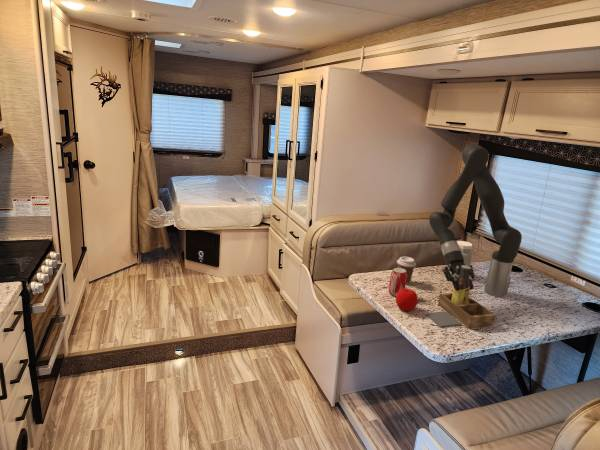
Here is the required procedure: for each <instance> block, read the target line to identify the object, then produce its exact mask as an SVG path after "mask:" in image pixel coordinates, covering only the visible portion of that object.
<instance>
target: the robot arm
mask: <svg viewBox="0 0 600 450" xmlns="http://www.w3.org/2000/svg"><path fill="white" fill-rule="evenodd" d="M461 159H462V162H463V163H464V167H463V169H462V172H461V173H460V174H459V176H458V177H457V179H456V180H455V181H454V182H453V183H452V184H451V185H450V186H449V188H448V189H447V191H446V193H445V195H444V196H443V198H442V199H441V203H440V205H441V207H442V208H443V211H442V212H439V211H434V212H432V213H431V214H430V215H429V219H428V221H429V224H430V225H429V226H430V227H431V229H432V231H433V233H434V234H435V236H437V238H438V241H439V245H440V248H441V249H440V250H441V254H442V255H443V258H444V262H445V265H446V266H444V267H442V272H443V274H444V277H445V279H446V281H447V282H451V283H452V285H453V290H454V289H455V290H456V291H458V290H460V286H459V284H458V281H457V276H458V275H460V271H461V266H462V265H465V264H464V258H463V255H462V252H461V250H460V247H459V245H458V243H457V241H458V240H457V238H456V234H455V233H454V231H453V230H451V229H449V228H450V227H451V226H452V224H453V223H454V219H455V215H456V213H457V212H456V210H457V208H458V207H459V205H460V203H461V201H462V200H463V197H464V195H465V194H466V193H467V191H468V189H469V188H470V186H471V184H472V183H473V185H474V188H475V191H476V193H477V196H478V199H479V202H480V204H481V206H482V208H483V210H484V212H485V215H486V218H487V220H488V222H489V226H490V228H491V233H492V237H493V238H494V240H495V241H496V242H497V243H498V244H499V249H498V250H495V251H493V252H492V254H491V259H490V261H489V262H490V263H489V266H488V267H489V268H488V271H487V275H486V276H487V277H486V281H485V283H484V289H483V290H484V293H486V294H488V295H489V296H493V297H495V298H496V297H498V298H505V296H507V295H508V291H509V288H510V284H511V279H512V276H511V272H512V269H513V264H514V260H515V259H516V257H517V256H518V253H519V250H520V247H521V243H522V237H523V235H522V233H521V231H519V230H518V229H517V228H515V227H513V226H511V225H510V224H509V223H508V220H507V218H506V216H505V212H504V211H505V198H504V196H503V192H502V190H501V189H500V186H499V184H498V183H497V181H496V180H495V178H494V176H493V175H492V174H491V173H490V171H489V168H488V166H487V163H488V162H489V159H490V154H489V152H488V150H487V149H486V148H484V147H483V146H481V145H479V144H475V143H471V144H468V145H466V146H465V147H464V148H463V149H462V152H461ZM469 267H471V271H470V275H469V280H470V285H471V286H470V291H472V290H474V283H473V279H475V273H474V268H473V265H471V264H470V266H469ZM450 271H451V273H450Z"/></svg>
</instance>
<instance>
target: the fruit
mask: <svg viewBox="0 0 600 450" xmlns="http://www.w3.org/2000/svg"><path fill="white" fill-rule="evenodd" d="M418 300H419V297H418V295H417V292H415V290H413V289H410V288H408V287H407V286H405V289H401V290H400V291H399V292H398V293H397V295H396V296H395V303H396V306H397V307H398V309H400V310H402V311H404V312H405V311H406V312H410V311H412V310H414V309H415V308H416V307H417V306H418V303H419V301H418Z"/></svg>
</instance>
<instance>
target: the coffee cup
mask: <svg viewBox="0 0 600 450" xmlns="http://www.w3.org/2000/svg"><path fill="white" fill-rule="evenodd" d="M396 264H397V268H403V269H405V270H406V273H407V279H406V285H410V284H411V280H412V277H413V272H414V269H415V267H416V265H417V263H416V262H415V259H414V258H413V257H410V256H400V257H399V258H398V259H397V260H396Z"/></svg>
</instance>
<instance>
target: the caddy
mask: <svg viewBox="0 0 600 450" xmlns="http://www.w3.org/2000/svg"><path fill="white" fill-rule="evenodd" d="M452 294H453V292H450V293H440V294H439V297H438V302H437V305H438V306H439V307H440V308H441V309H443V311H446V312H448V313H449V314H450V315H451V316H453V317H454V318H455V319H456V320H458V321H459V322H460V323H461V325H463V326H464V327H465V328H466V329H480V328H488V327H494V325H495V320H496V316H497V315H496V314H495V313H494V312H492V311H491V310H489V309H487V308H486V307H485V306H483V305H482V304H481V303H479V302H477V300H475V299H473V298H472V297H470V296H468V300H467V304H463V305H456V304H454V303H453V302H452V301H451V299H452Z"/></svg>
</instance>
